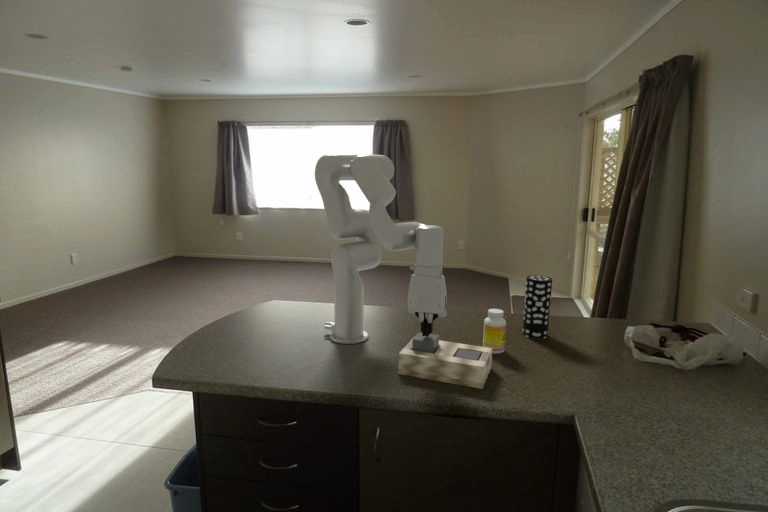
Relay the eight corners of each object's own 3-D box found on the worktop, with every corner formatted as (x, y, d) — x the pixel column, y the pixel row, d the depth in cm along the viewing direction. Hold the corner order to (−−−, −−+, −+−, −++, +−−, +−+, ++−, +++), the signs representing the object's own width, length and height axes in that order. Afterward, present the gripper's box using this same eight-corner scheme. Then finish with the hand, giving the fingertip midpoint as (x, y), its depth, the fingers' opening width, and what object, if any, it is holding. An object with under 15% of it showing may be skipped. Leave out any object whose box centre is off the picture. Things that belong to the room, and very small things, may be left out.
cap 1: (412, 352, 133) (412, 339, 132) (418, 345, 138) (418, 332, 138) (432, 356, 131) (433, 342, 130) (438, 348, 136) (439, 335, 136)
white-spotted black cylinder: (552, 336, 162) (557, 279, 159) (536, 341, 158) (541, 282, 154) (532, 329, 169) (537, 274, 166) (517, 333, 165) (521, 277, 161)
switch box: (398, 373, 131) (398, 353, 130) (414, 355, 144) (414, 336, 143) (482, 388, 123) (483, 367, 122) (491, 368, 136) (492, 348, 135)
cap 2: (453, 370, 129) (454, 356, 128) (458, 362, 135) (459, 348, 134) (476, 374, 127) (476, 360, 126) (480, 365, 133) (480, 352, 132)
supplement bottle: (504, 355, 145) (507, 314, 143) (482, 353, 147) (484, 313, 144) (503, 347, 152) (506, 308, 149) (482, 345, 153) (484, 307, 151)
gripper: (397, 271, 130) (396, 335, 133) (452, 276, 124) (449, 343, 128) (406, 266, 136) (405, 327, 140) (458, 270, 131) (455, 334, 134)
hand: (426, 334), depth 134 cm, fingers closed
